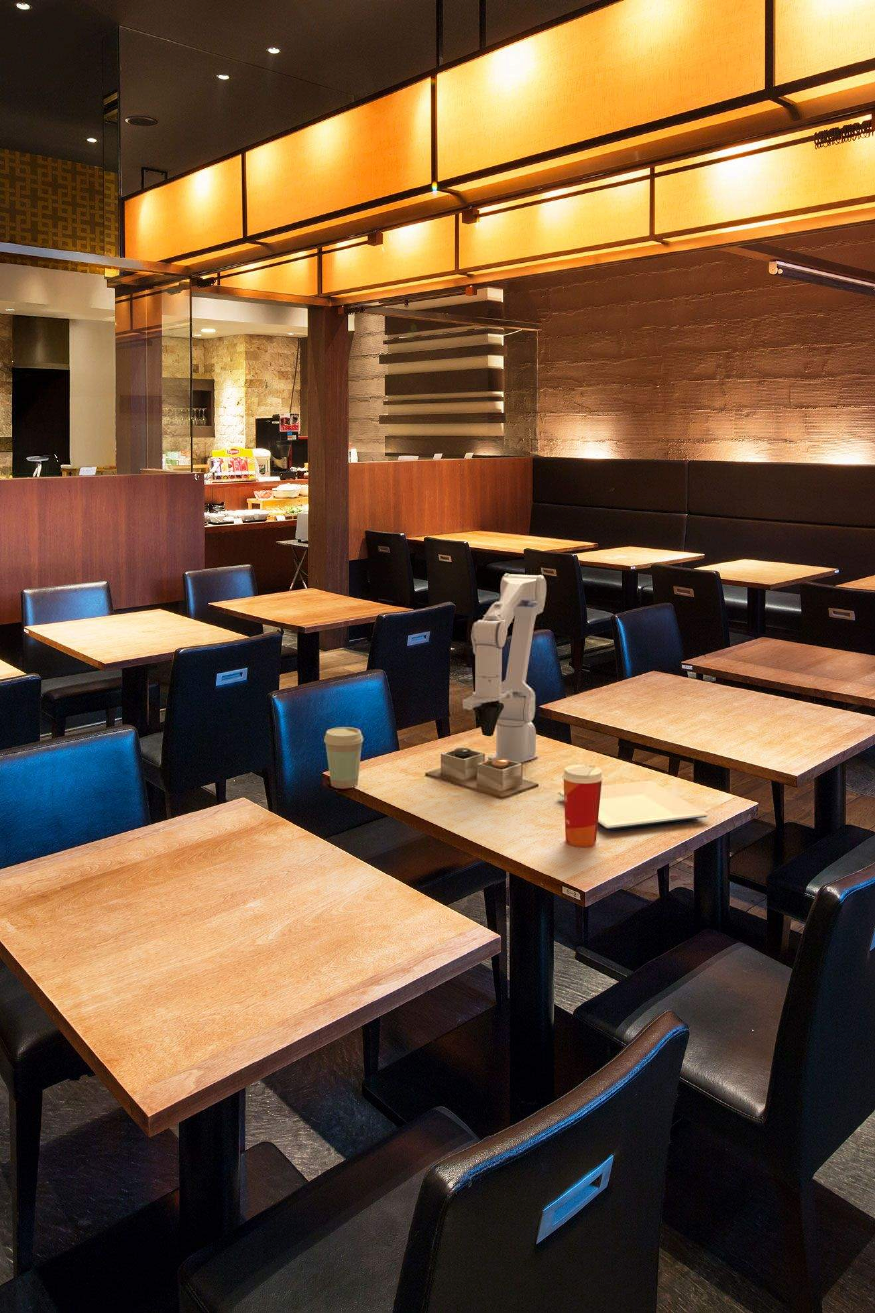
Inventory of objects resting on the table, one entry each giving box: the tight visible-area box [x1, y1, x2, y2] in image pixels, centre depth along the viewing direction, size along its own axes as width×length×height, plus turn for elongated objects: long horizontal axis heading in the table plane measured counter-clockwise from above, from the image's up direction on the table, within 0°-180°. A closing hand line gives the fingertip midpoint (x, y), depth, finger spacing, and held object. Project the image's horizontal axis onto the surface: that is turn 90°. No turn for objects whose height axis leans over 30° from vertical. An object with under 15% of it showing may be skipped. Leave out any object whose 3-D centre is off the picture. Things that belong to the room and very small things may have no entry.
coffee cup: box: [323, 726, 364, 790], centre depth 221 cm, size 8×9×12 cm
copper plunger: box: [492, 758, 508, 770], centre depth 220 cm, size 5×5×5 cm
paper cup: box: [561, 764, 605, 848], centre depth 188 cm, size 8×8×14 cm
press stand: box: [424, 749, 539, 800], centre depth 224 cm, size 12×23×5 cm, turn 46°
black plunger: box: [454, 747, 472, 759], centre depth 228 cm, size 5×5×5 cm
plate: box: [557, 780, 709, 830], centre depth 206 cm, size 22×22×2 cm
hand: (487, 735), depth 223 cm, fingers closed
